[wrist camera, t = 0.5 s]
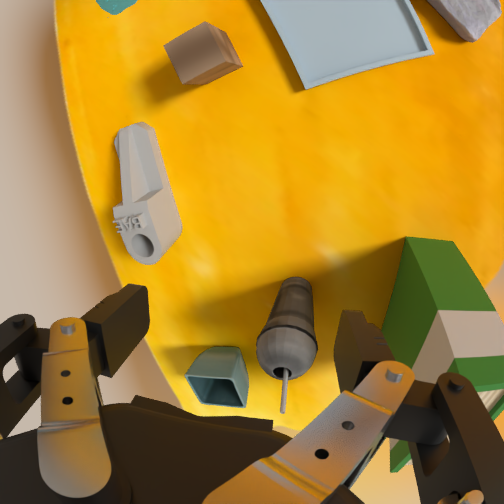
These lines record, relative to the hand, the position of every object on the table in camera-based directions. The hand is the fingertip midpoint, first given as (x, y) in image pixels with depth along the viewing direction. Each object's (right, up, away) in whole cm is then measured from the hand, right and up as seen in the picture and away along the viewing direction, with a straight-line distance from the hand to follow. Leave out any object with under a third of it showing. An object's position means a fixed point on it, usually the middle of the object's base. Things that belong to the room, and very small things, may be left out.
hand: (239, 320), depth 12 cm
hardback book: (+25, -3, +28) cm, 38 cm away
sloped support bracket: (-13, +12, +29) cm, 34 cm away
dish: (+10, +30, +13) cm, 34 cm away
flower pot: (-4, -16, +43) cm, 46 cm away
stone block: (+25, +34, +7) cm, 43 cm away
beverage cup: (+7, -3, +32) cm, 33 cm away
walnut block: (-4, +25, +19) cm, 32 cm away
